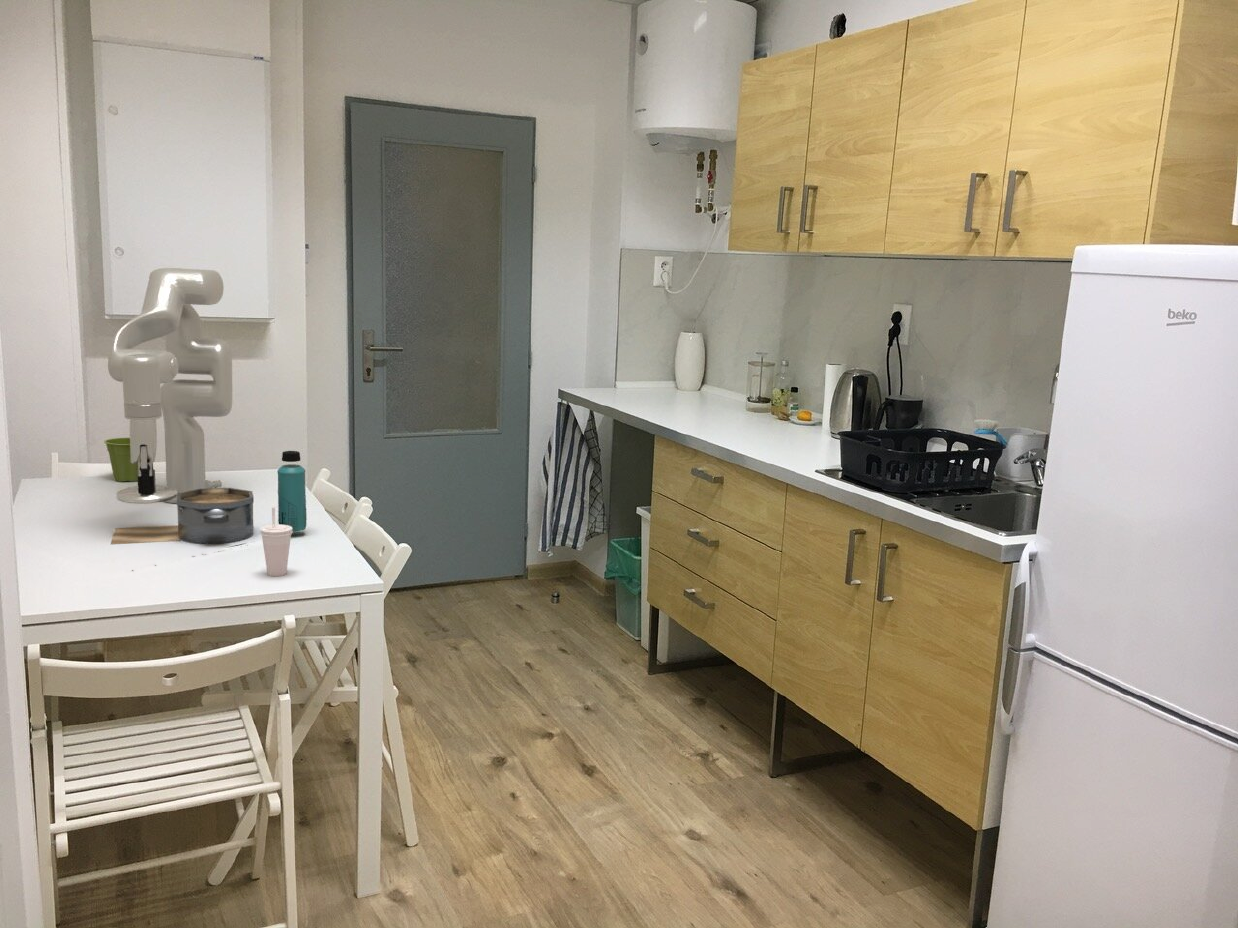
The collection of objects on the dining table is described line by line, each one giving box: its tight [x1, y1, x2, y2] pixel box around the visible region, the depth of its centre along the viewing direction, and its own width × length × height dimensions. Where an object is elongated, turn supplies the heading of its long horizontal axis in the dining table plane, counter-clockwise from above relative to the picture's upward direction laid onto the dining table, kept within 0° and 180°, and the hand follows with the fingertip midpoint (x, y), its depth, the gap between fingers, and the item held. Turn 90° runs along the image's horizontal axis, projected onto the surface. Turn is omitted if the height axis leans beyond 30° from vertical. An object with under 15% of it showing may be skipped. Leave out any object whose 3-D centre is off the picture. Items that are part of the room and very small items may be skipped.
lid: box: [116, 468, 177, 505], centre depth 229 cm, size 12×12×6 cm
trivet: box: [110, 525, 182, 545], centre depth 230 cm, size 14×14×1 cm
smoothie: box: [259, 506, 294, 577], centre depth 209 cm, size 6×6×14 cm
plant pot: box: [103, 437, 138, 483], centre depth 287 cm, size 12×12×11 cm
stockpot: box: [176, 487, 255, 548], centre depth 232 cm, size 21×16×10 cm
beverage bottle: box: [277, 450, 308, 533], centre depth 238 cm, size 6×7×20 cm
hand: (146, 489), depth 229 cm, fingers closed on lid, 3 cm apart
